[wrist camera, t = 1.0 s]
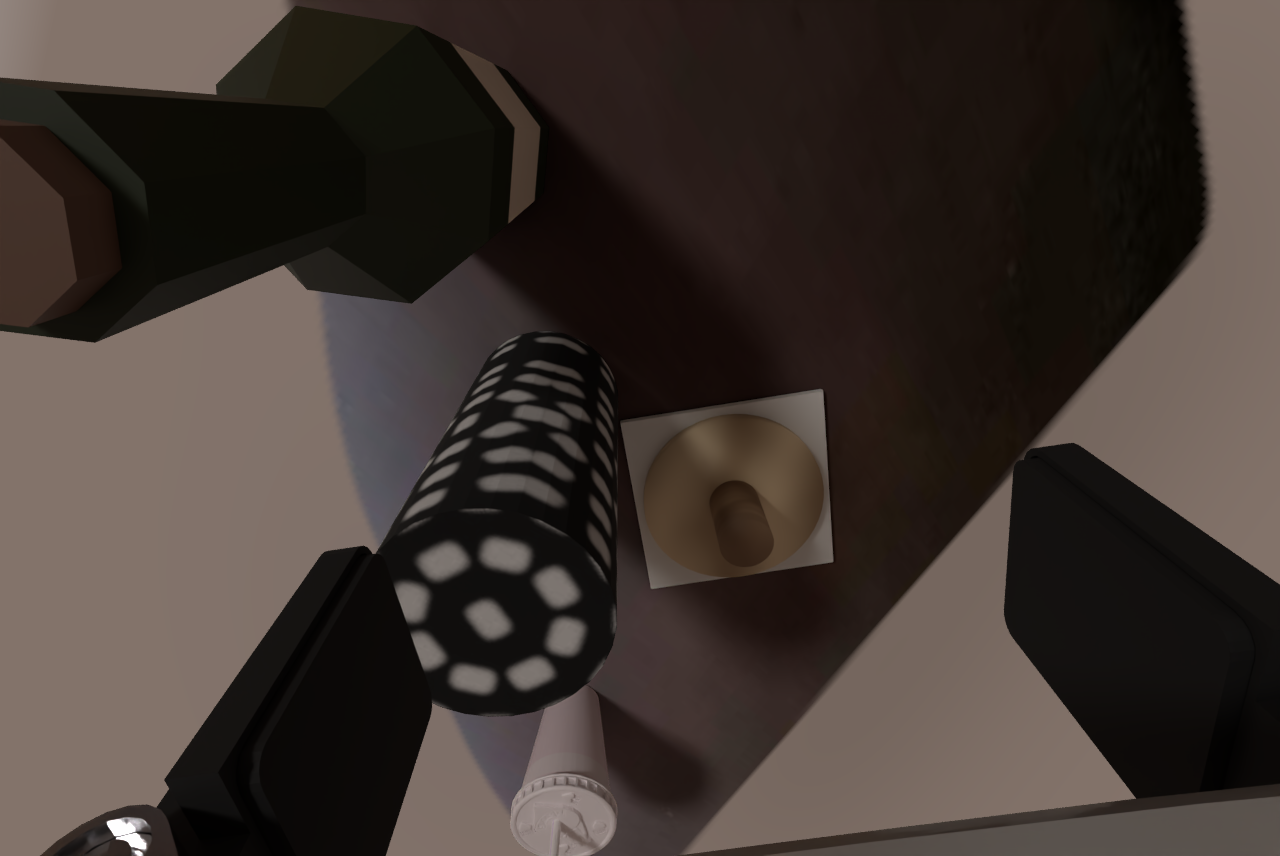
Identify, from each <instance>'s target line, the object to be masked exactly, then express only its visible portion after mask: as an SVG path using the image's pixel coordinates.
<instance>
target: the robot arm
mask: <svg viewBox="0 0 1280 856" xmlns="http://www.w3.org/2000/svg"><path fill="white" fill-rule="evenodd" d="M1009 529H1010V530H1009V543H1008V559H1007V574H1006V589H1005V604H1004V616H1005V621H1006V625H1007V628H1008V629H1009V632H1010V634H1011V636H1012V637H1013V639H1014V640H1015V641H1016V643H1017V644H1018V645H1019V646H1020V648H1021V649H1022V650H1023V652H1024V653H1025V654H1026V656H1027V657H1028V658H1029V659H1030V661H1031V662H1032V663H1033V665H1034V666H1035V667H1036V668H1037V670H1038V671H1039V673H1040V674H1041V675H1042V676H1043V677H1044V679H1045V680H1046V682H1047V683H1048V684H1049V685H1050V687H1051V688H1052V689H1053V691H1054V692H1055V693H1056V694H1057V696H1058V697H1059V698H1060V700H1061V701H1062V702H1063V704H1064V705H1065V706H1066V707H1067V709H1068V710H1069V712H1070V713H1071V714H1072V715H1073V717H1074V718H1075V719H1076V721H1077V722H1078V723H1079V725H1080V726H1081V727H1082V728H1083V730H1084V731H1085V732H1086V734H1087V735H1088V736H1089V737H1090V739H1091V740H1092V741H1093V743H1094V744H1095V745H1096V747H1097V748H1098V749H1099V751H1100V752H1101V753H1102V755H1103V756H1104V757H1105V758H1106V760H1107V761H1108V762H1109V764H1110V765H1111V766H1112V768H1113V769H1114V770H1115V771H1116V773H1117V774H1118V775H1119V777H1120V778H1121V779H1122V780H1123V782H1124V783H1125V784H1126V786H1127V787H1128V788H1129V790H1130V791H1131V792H1132V794H1133V795H1134V796H1135V797H1136V799H1131V800H1122V801H1115V802H1106V803H1098V804H1089V805H1081V806H1073V807H1065V808H1056V809H1048V810H1040V811H1032V812H1023V813H1015V814H1007V815H999V816H991V817H982V818H974V819H966V820H958V821H949V822H941V823H934V824H925V825H916V826H908V827H900V828H892V829H884V830H876V831H868V832H860V833H852V834H844V835H836V836H829V837H821V838H813V839H806V840H797V841H789V842H781V843H773V844H765V845H757V846H750V847H742V848H735V849H726V850H718V851H711V852H703V853H695V854H687V855H679V856H1280V584H1278V583H1276V582H1275V581H1274V580H1272V579H1271V578H1269V577H1268V576H1267V575H1265V574H1264V573H1262V572H1261V571H1259V570H1258V569H1257V568H1255V567H1253V566H1252V565H1251V564H1249V563H1248V562H1246V561H1245V560H1243V559H1242V558H1241V557H1239V556H1238V555H1236V554H1235V553H1233V552H1232V551H1231V550H1229V549H1228V548H1226V547H1225V546H1223V545H1222V544H1220V543H1219V542H1217V541H1216V540H1215V539H1213V538H1212V537H1210V536H1209V535H1208V534H1206V533H1205V532H1203V531H1202V530H1200V529H1199V528H1197V527H1196V526H1195V525H1193V524H1192V523H1190V522H1189V521H1187V520H1186V519H1184V518H1183V517H1182V516H1180V515H1179V514H1177V513H1176V512H1174V511H1173V510H1172V509H1170V508H1169V507H1167V506H1166V505H1164V504H1163V503H1161V502H1160V501H1158V500H1157V499H1156V498H1154V497H1153V496H1151V495H1150V494H1148V493H1147V492H1145V491H1144V490H1143V489H1141V488H1140V487H1138V486H1137V485H1135V484H1134V483H1133V482H1131V481H1130V480H1128V479H1127V478H1125V477H1124V476H1123V475H1121V474H1120V473H1118V472H1117V471H1115V470H1114V469H1112V468H1111V467H1110V466H1108V465H1107V464H1105V463H1104V462H1102V461H1101V460H1099V459H1098V458H1097V457H1095V456H1094V455H1092V454H1091V453H1089V452H1088V451H1087V450H1085V449H1084V448H1082V447H1081V446H1079V445H1077V444H1075V443H1068V444H1060V445H1055V446H1048V447H1040V448H1033V449H1030V450H1029V451H1028V452H1027V453H1026V455H1025V457H1024V460H1019V461H1018V462H1017V463H1016V464H1015V466H1014V471H1013V484H1012V499H1011V515H1010V528H1009ZM431 711H432V696H431V691H430V687H429V685H428V682H427V679H426V676H425V673H424V670H423V667H422V665H421V662H420V659H419V656H418V653H417V650H416V648H415V645H414V642H413V639H412V636H411V633H410V630H409V628H408V625H407V622H406V619H405V616H404V613H403V610H402V608H401V605H400V602H399V599H398V596H397V593H396V591H395V588H394V585H393V582H392V579H391V576H390V573H389V571H388V568H387V565H386V562H385V560H384V558H383V557H382V555H380V554H378V553H377V554H372V552H371V551H370V550H369V549H368V547H365V546H359V547H352V548H345V549H338V550H331V551H326V552H324V553H323V554H322V555H321V556H320V557H319V559H318V560H317V562H316V563H315V565H314V566H313V567H312V569H311V570H310V572H309V574H308V575H307V576H306V578H305V579H304V581H303V582H302V583H301V585H300V586H299V588H298V589H297V590H296V592H295V593H294V595H293V596H292V598H291V599H290V601H289V602H288V603H287V605H286V606H285V608H284V609H283V610H282V612H281V613H280V615H279V616H278V618H277V619H276V621H275V622H274V623H273V625H272V626H271V628H270V629H269V631H268V632H267V633H266V635H265V636H264V638H263V639H262V641H261V642H260V644H259V645H258V646H257V648H256V649H255V651H254V652H253V653H252V655H251V656H250V658H249V659H248V661H247V662H246V664H245V665H244V666H243V668H242V669H241V671H240V672H239V674H238V675H237V676H236V678H235V679H234V681H233V682H232V684H231V685H230V686H229V688H228V689H227V691H226V692H225V694H224V695H223V696H222V698H221V699H220V701H219V702H218V704H217V705H216V706H215V708H214V709H213V711H212V712H211V714H210V715H209V716H208V718H207V719H206V721H205V722H204V724H203V725H202V727H201V728H200V729H199V731H198V732H197V734H196V735H195V736H194V738H193V739H192V741H191V742H190V744H189V745H188V746H187V748H186V749H185V751H184V752H183V754H182V755H181V757H180V758H179V759H178V761H177V762H176V764H175V765H174V767H173V768H172V769H171V771H170V772H169V774H168V775H167V777H166V778H165V782H166V784H167V786H168V787H169V790H168V791H167V793H166V794H165V796H164V798H163V799H162V800H161V802H160V803H159V805H158V806H157V808H155V807H153V806H150V805H133V806H126V807H123V808H119V809H116V810H113V811H110V812H106V813H104V814H102V815H100V816H98V817H96V818H94V819H92V820H90V821H88V822H86V823H84V824H82V825H80V826H79V827H78V828H76V829H74V830H73V831H71V832H70V833H68V834H67V835H65V836H64V837H62V838H61V839H59V840H58V841H57V842H56V843H54V844H53V845H52V846H51V847H50V848H48V849H47V850H46V851H45V852H44V853H43V854H42V855H40V856H386V853H387V850H388V847H389V843H390V840H391V837H392V834H393V831H394V828H395V825H396V822H397V818H398V816H399V812H400V809H401V806H402V803H403V800H404V797H405V794H406V790H407V787H408V784H409V781H410V778H411V775H412V772H413V769H414V766H415V763H416V759H417V757H418V753H419V750H420V747H421V744H422V741H423V738H424V735H425V732H426V729H427V725H428V722H429V719H430V715H431Z"/></svg>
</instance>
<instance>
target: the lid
mask: <svg viewBox="0 0 1280 856" xmlns="http://www.w3.org/2000/svg"><path fill="white" fill-rule="evenodd" d="M823 500H824V486H823V479H822V475H821V472H820V468H819V466H818V464H817V462H816V460H815V458H814V456H813V455H812V453H811V451H810V450H809V449H808V447H807V446H806V444H805V443H804V442H803V441H802V440H801V439H800V438H799V437H798V436H797V435H796V434H795V433H794V432H792V431H791V430H790V429H788V428H786V427H785V426H783V425H781V424H780V423H777V422H775V421H773V420H770V419H767V418H764V417H760V416H755V415H749V414H728V415H720V416H716V417H711V418H708V419H705V420H702V421H699V422H697V423H695V424H693V425H691V426H689V427H687V428H686V429H684V430H682V431H681V432H679V433H678V434H677V435H675V436H674V437H673V438H672V439H671V440H670V441H668V443H667V444H666V445H665V446H664V447H663V448H662V449H661V450H660V452H659V453H658V455H657V456H656V457H655V459H654V461H653V463H652V465H651V467H650V469H649V471H648V474H647V477H646V481H645V486H644V511H645V518H646V522H647V526H648V528H649V530H650V533H651V535H652V537H653V538H654V540H655V541H656V543H657V544H658V546H659V547H660V548H661V549H662V550H663V552H664V553H666V554H667V555H668V556H669V557H670V558H671V559H672V560H674V561H675V562H677V563H678V564H680V565H682V566H683V567H685V568H687V569H689V570H692V571H695V572H697V573H700V574H704V575H709V576H715V577H741V576H747V575H752V574H756V573H759V572H762V571H765V570H767V569H770V568H772V567H774V566H776V565H778V564H780V563H781V562H783V561H785V560H786V559H787V558H789V557H790V556H791V555H793V554H794V553H795V552H796V551H797V550H798V549H799V548H800V547H801V546H802V545H803V544H804V543H805V542H806V540H807V539H808V538H809V537H810V535H811V533H812V532H813V530H814V529H815V527H816V524H817V522H818V520H819V517H820V514H821V511H822V506H823Z"/></svg>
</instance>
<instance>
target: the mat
mask: <svg viewBox="0 0 1280 856" xmlns="http://www.w3.org/2000/svg"><path fill="white" fill-rule="evenodd" d="M728 414H749V415H755V416H760V417H764V418H767V419H770V420H773V421H775V422H777V423H780V424H781V425H783V426H785V427H786V428H788V429H790V430H791V431H792V432H794V433H795V434H796V435H797V436H798V437H799V438H800V439H801V440H802V441H803V442H804V443H805V444H806V446H807V447H808V449H809V450H810V451H811V453H812V455H813V456H814V458H815V460H816V462H817V464H818V466H819V468H820V472H821V475H822V479H823V486H824V500H823V506H822V511H821V514H820V517H819V520H818V522H817V524H816V527H815V529H814V530H813V532H812V533H811V535H810V537H809V538H808V539H807V540H806V542H805V543H804V544H803V545H802V546H801V547H800V548H799V549H798V550H797V551H796V552H795V553H794V554H793V555H791V556H790V557H789V558H787V559H786V560H785V561H783V562H781V563H780V564H778V565H776V566H774V567H772V568H770V569H767V570H765V571H762V572H759V573H763V572H770V571H777V570H784V569H790V568H797V567H804V566H811V565H817V564H824V563H831V562H833V547H832V530H831V514H830V497H829V480H828V463H827V446H826V430H825V413H824V396H823V390H822V389H817V390H811V391H805V392H798V393H792V394H786V395H779V396H773V397H767V398H760V399H754V400H748V401H741V402H735V403H728V404H722V405H716V406H709V407H703V408H697V409H690V410H684V411H678V412H671V413H665V414H659V415H652V416H646V417H640V418H633V419H627V420H621V421H620V424H621V429H622V434H623V440H624V445H625V451H626V456H627V461H628V467H629V472H630V478H631V483H632V488H633V494H634V499H635V504H636V510H637V515H638V521H639V526H640V531H641V537H642V542H643V548H644V553H645V558H646V564H647V569H648V575H649V580H650V585H651V589H655V588H662V587H669V586H675V585H682V584H689V583H696V582H703V581H709V580H716V579H723V578H730V577H715V576H709V575H704V574H700V573H697V572H695V571H692V570H689V569H687V568H685V567H683V566H682V565H680V564H678V563H677V562H675V561H674V560H672V559H671V558H670V557H669V556H668V555H667V554H666V553H664V552H663V550H662V549H661V548H660V547H659V546H658V544H657V543H656V541H655V540H654V538H653V537H652V535H651V533H650V530H649V528H648V526H647V522H646V518H645V511H644V486H645V481H646V477H647V474H648V471H649V469H650V467H651V465H652V463H653V461H654V459H655V457H656V456H657V455H658V453H659V452H660V450H661V449H662V448H663V447H664V446H665V445H666V444H667V443H668V441H670V440H671V439H672V438H673V437H674V436H675V435H677V434H678V433H679V432H681V431H682V430H684V429H686V428H687V427H689V426H691V425H693V424H695V423H697V422H699V421H702V420H705V419H708V418H711V417H716V416H720V415H728ZM756 574H757V573H756Z"/></svg>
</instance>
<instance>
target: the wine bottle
mask: <svg viewBox="0 0 1280 856" xmlns="http://www.w3.org/2000/svg"><path fill="white" fill-rule="evenodd" d="M216 91H217V95H212V94H200V93H188V92H175V91H162V90H149V89H137V88H124V87H111V86H98V85H86V84H73V83H61V82H48V81H36V80H22V79H10V78H0V331H6V332H14V333H23V334H31V335H39V336H46V337H54V338H62V339H70V340H78V341H86V342H94V343H95V342H98V341H100V340H102V339H105V338H107V337H110V336H112V335H114V334H117V333H119V332H122V331H124V330H127V329H129V328H132V327H134V326H136V325H139V324H141V323H143V322H146V321H149V320H151V319H153V318H156V317H158V316H161V315H163V314H166V313H168V312H170V311H173V310H175V309H178V308H180V307H183V306H185V305H187V304H190V303H192V302H195V301H197V300H200V299H202V298H205V297H207V296H209V295H212V294H214V293H217V292H219V291H222V290H224V289H226V288H229V287H231V286H234V285H236V284H239V283H241V282H244V281H246V280H248V279H251V278H253V277H256V276H258V275H261V274H263V273H265V272H268V271H270V270H273V269H275V268H278V267H280V266H282V265H284V266H285V267H286V268H287V269H288V270H289V271H290V272H291V273H292V274H293V275H294V276H295V277H296V278H297V279H298V280H299V281H300V283H301V284H303V286H304V287H305V288H306V289H307V290H314V291H321V292H329V293H336V294H344V295H351V296H359V297H366V298H374V299H381V300H389V301H396V302H403V303H411V304H412V303H413V302H414V301H415V300H417V299H418V298H419V297H420V296H421V295H423V294H424V293H425V292H426V291H428V290H429V289H430V288H431V287H432V286H434V285H435V284H436V283H437V282H439V281H440V280H441V279H442V278H444V277H445V276H446V275H447V274H448V273H450V272H451V271H452V270H453V269H455V268H456V267H457V266H458V265H459V264H461V263H462V262H463V261H464V260H466V259H467V258H468V257H469V256H470V255H472V254H473V253H474V252H475V251H477V250H478V249H479V248H480V247H481V246H483V245H484V244H485V243H486V242H488V241H489V240H490V239H491V238H492V237H493V236H495V235H496V234H497V233H498V232H499V231H500V230H502V229H503V228H504V227H505V226H506V225H507V224H508V223H510V222H511V221H512V220H513V219H514V218H515V217H517V216H518V215H519V214H520V213H521V212H522V211H523V210H525V209H526V208H527V207H528V206H529V205H530V204H532V203H533V202H534V201H535V200H536V199H537V198H538V197H540V196H541V195H542V194H543V192H544V180H545V169H546V157H547V146H548V134H549V127H548V125H547V124H546V123H545V121H544V120H543V119H542V117H541V116H540V114H539V113H538V112H537V110H536V109H535V108H534V106H533V105H532V104H531V102H530V101H529V100H528V98H527V97H526V95H525V94H524V93H523V91H522V90H521V89H520V87H519V86H518V85H517V83H516V82H515V80H514V79H513V78H512V76H511V75H510V74H509V72H508V71H507V70H505V69H503V68H501V67H499V66H497V65H495V64H493V63H491V62H489V61H487V60H485V59H483V58H481V57H479V56H477V55H475V54H473V53H471V52H468V51H466V50H464V49H462V48H460V47H458V46H456V45H454V44H452V43H450V42H448V41H446V40H444V39H442V38H440V37H438V36H436V35H434V34H432V33H430V32H428V31H426V30H424V29H422V28H420V27H418V26H415V25H409V24H403V23H397V22H390V21H384V20H378V19H372V18H366V17H360V16H354V15H348V14H342V13H336V12H330V11H324V10H318V9H312V8H306V7H300V6H295V7H294V8H293V9H292V10H291V11H290V12H289V13H288V14H287V15H286V16H285V17H284V18H283V19H282V20H281V21H280V22H279V23H278V24H277V25H276V26H275V27H274V28H273V29H272V30H271V31H270V32H269V33H268V34H267V35H266V36H265V37H264V38H263V39H262V40H261V41H260V42H259V43H258V44H257V45H256V46H255V47H254V48H253V49H252V50H251V51H250V52H249V53H248V54H247V55H246V56H245V57H244V58H243V59H242V60H241V61H240V62H239V63H238V64H237V65H236V66H235V67H234V68H233V69H232V70H231V71H230V72H228V73H227V74H226V76H225V77H223V79H221V80H220V81H219V82H218V83H217V84H216Z"/></svg>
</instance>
